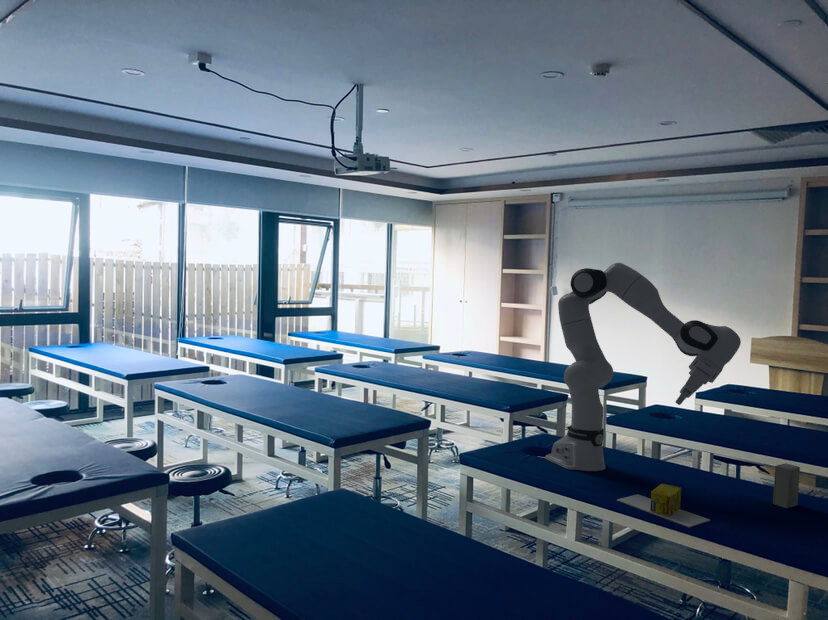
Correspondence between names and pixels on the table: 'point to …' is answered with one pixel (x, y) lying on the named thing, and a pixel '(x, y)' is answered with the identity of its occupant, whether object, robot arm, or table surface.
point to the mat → (677, 517)
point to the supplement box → (666, 499)
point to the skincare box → (786, 485)
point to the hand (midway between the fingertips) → (677, 403)
